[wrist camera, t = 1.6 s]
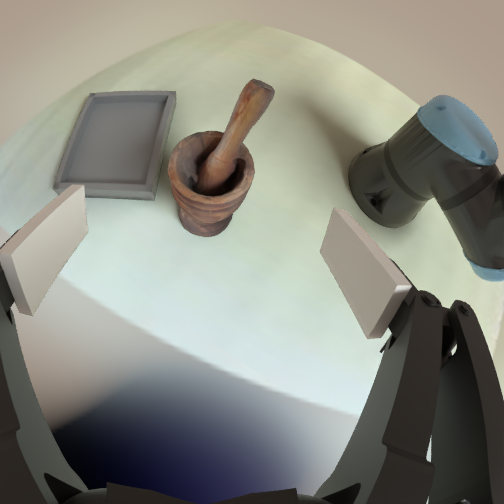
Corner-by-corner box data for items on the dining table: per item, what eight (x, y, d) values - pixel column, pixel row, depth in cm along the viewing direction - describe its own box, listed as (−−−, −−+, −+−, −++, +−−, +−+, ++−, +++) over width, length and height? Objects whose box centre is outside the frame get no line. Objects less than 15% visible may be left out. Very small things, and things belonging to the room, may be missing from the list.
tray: (176, 102, 42) (175, 91, 39) (154, 200, 37) (151, 191, 35) (94, 103, 39) (90, 93, 36) (60, 196, 35) (52, 188, 32)
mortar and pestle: (194, 160, 40) (199, 57, 21) (249, 176, 41) (288, 80, 22) (168, 230, 37) (143, 149, 18) (228, 248, 38) (259, 181, 19)
